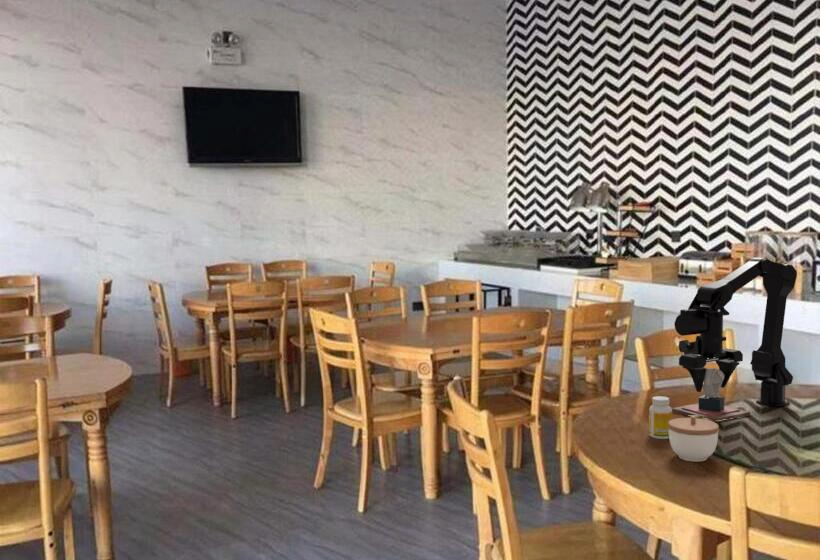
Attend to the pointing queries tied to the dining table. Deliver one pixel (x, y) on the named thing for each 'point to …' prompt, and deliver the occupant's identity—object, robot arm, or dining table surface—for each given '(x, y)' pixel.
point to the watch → (712, 391)
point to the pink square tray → (711, 412)
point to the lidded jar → (693, 438)
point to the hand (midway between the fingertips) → (710, 389)
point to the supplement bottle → (659, 417)
